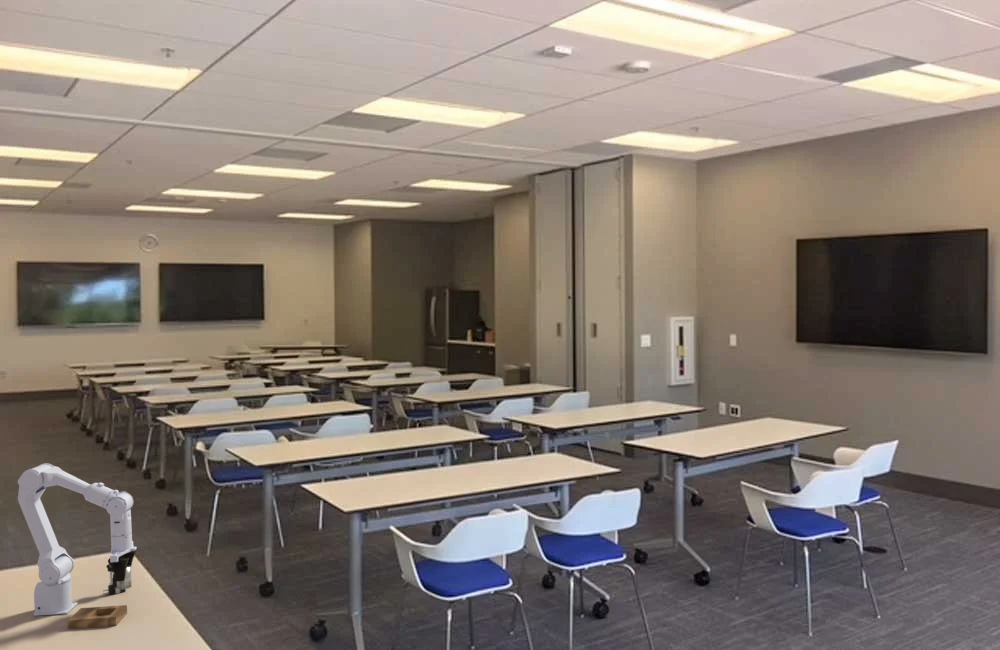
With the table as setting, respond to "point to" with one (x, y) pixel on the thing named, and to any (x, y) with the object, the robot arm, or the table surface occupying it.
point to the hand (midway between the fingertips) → (123, 578)
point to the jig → (97, 617)
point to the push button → (112, 583)
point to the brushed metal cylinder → (127, 582)
